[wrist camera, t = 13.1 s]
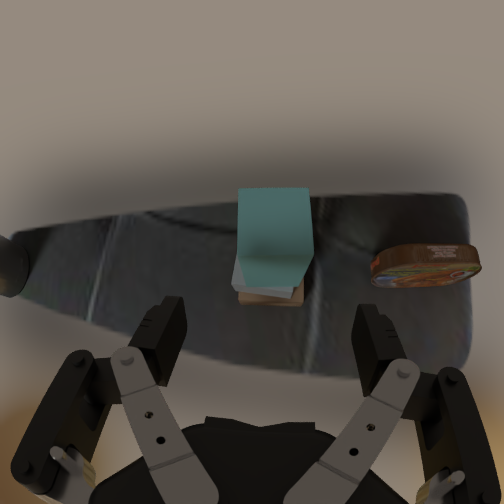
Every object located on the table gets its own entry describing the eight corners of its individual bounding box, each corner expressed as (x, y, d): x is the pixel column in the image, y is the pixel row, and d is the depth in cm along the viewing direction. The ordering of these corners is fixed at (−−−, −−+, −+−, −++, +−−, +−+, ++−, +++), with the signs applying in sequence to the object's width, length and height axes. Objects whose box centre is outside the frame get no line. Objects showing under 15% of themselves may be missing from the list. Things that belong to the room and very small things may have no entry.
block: (246, 287, 29) (237, 255, 20) (246, 238, 31) (238, 188, 21) (298, 286, 29) (314, 254, 19) (296, 238, 31) (308, 187, 21)
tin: (362, 288, 35) (386, 270, 27) (361, 264, 36) (383, 240, 28) (459, 285, 34) (494, 268, 26) (456, 263, 35) (490, 242, 27)
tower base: (241, 304, 36) (238, 300, 32) (244, 249, 38) (242, 239, 35) (300, 306, 35) (303, 301, 32) (301, 250, 37) (303, 240, 34)
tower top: (235, 290, 33) (231, 283, 29) (244, 239, 35) (241, 227, 31) (290, 298, 32) (292, 292, 29) (297, 246, 34) (299, 234, 31)
